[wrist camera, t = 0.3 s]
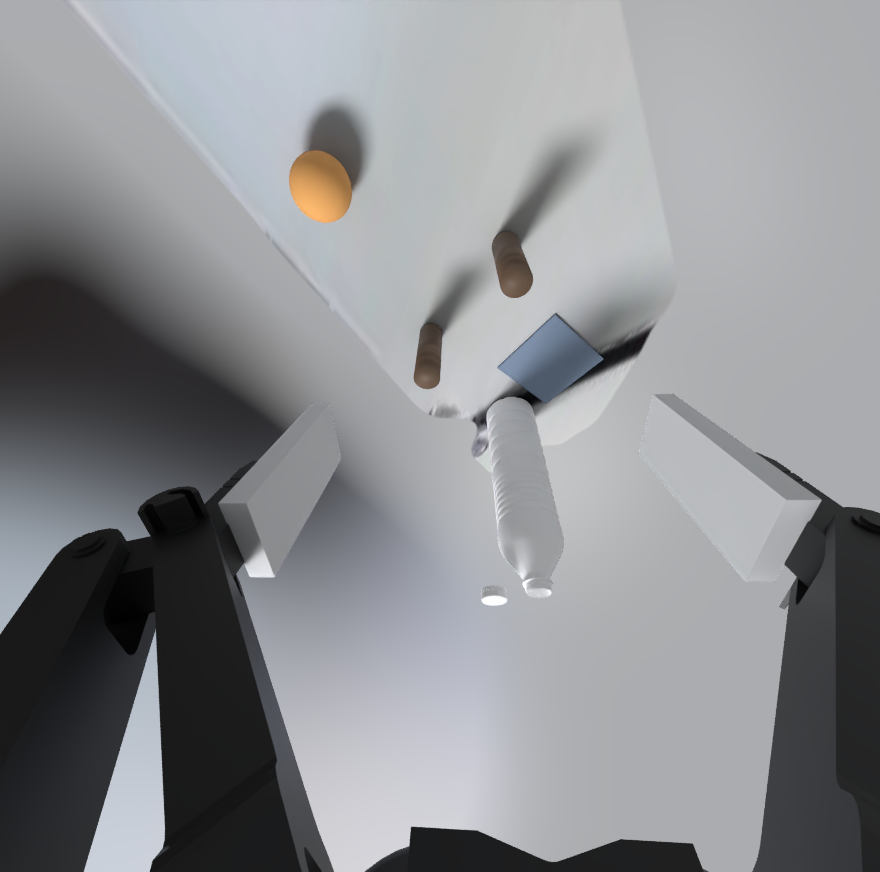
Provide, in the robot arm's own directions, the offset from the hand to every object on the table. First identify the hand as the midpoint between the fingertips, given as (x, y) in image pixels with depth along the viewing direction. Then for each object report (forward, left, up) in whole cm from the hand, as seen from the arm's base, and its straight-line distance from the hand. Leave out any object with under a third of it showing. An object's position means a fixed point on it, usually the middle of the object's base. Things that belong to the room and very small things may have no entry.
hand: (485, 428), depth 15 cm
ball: (+5, -12, -25) cm, 28 cm away
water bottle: (+15, +19, -28) cm, 37 cm away
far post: (+11, +4, -27) cm, 30 cm away
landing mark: (+5, +17, -27) cm, 33 cm away
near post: (-1, +4, -27) cm, 28 cm away
